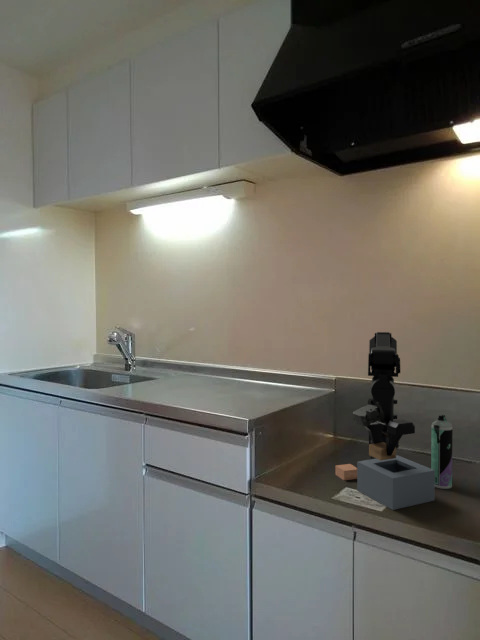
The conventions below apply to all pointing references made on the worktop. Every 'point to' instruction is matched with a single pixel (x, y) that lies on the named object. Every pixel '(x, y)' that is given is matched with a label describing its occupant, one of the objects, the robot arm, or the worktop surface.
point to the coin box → (396, 482)
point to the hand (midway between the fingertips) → (382, 452)
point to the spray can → (442, 452)
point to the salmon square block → (346, 471)
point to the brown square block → (380, 451)
